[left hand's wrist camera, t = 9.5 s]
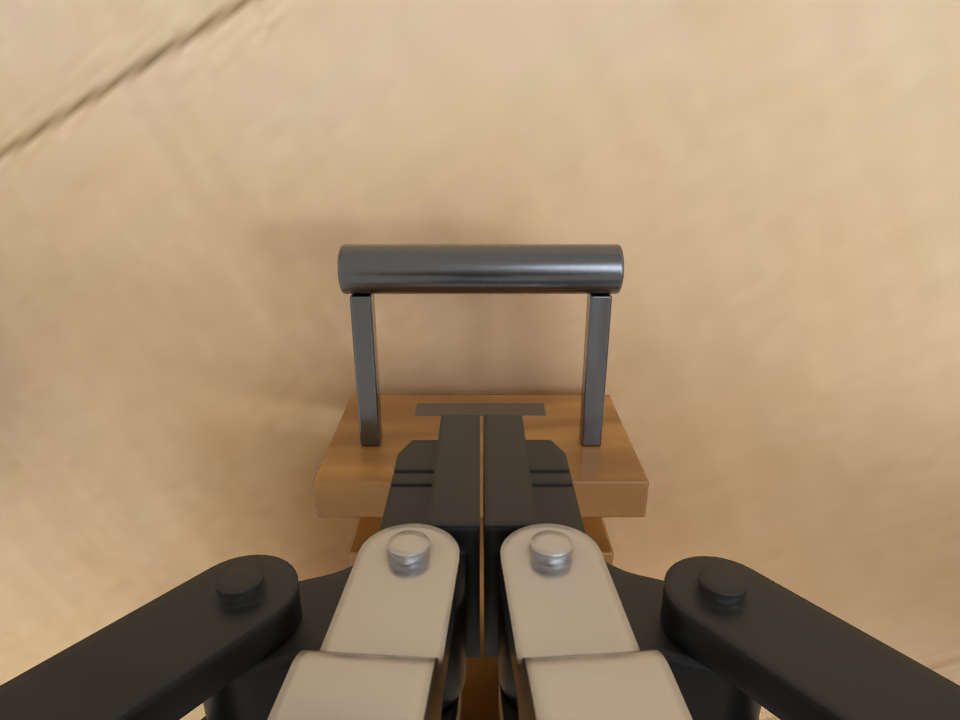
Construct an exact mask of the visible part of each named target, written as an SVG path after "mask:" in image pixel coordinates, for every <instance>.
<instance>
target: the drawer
mask: <svg viewBox="0 0 960 720" xmlns="http://www.w3.org/2000/svg"><path fill="white" fill-rule="evenodd" d="M623 277H624V257H623V251H622V248H621V246H620V245H617V244H447V245H342V246H341V248H340V251H339V255H338V279H339V284H340V288H341V290H342V292H343V293H345V294H352V295H351V296H350V306H351V320H352V333H353V347H354V360H355V374H356V388H357V395H352V396H351V399H350V401H349V403H348V405H347V408H346V410H345V412H344V414H343V416H342V419H341V421H340V423H339V425H338V428H337V430H336V432H335V434H334V437H333V439H332V441H331V443H330V445H329V448H328V450H327V452H326V454H325V457H324V459H323V461H322V463H321V466H320V468H319V470H318V472H317V474H316V477H315V479H314V481H313V487H314V496H315V506H316V515H317V517H359V518H358V522H357V525H356V529H355V532H354V535H353V539H352V542H351V545H350V549H349V552H348V559H349V567H351V566H353V565H354V563H355V560H356V558H357V555H358V552H359V550H360V548H361V546H362V545H363V544H364V543H365V541H366V540H367V539H369V538H370V537H371V536H372V535H374V534H376V533H377V532H379V531H380V527H381V522H382V518H383V514H384V510H385V506H386V502H387V497H388V493H389V489H390V487H391V481H392V476H393V473H394V468H395V464H396V460H397V456H398V453H399V452H400V451H401V450H403V449H404V448H405V447H406V446H407V445H408V444H409V443H410V442H411V441H412V440H438V436H439V428H440V421H441V414H480V657H466V679H465V684H464V687H463V689H462V691H461V699H462V702H461V715H460V720H500V715H499V702H498V699H499V668H498V657H484V549H483V414H522V417H523V424H524V432H525V439H526V440H551V441H553V442H554V443H555V444H556V445H557V446H558V447H559V448H560V449H561V450H562V451H563V452H564V453H565V454H566V457H567V461H568V465H569V469H570V473H571V477H572V481H573V487H574V489H575V493H576V497H577V501H578V505H579V509H580V513H581V517H582V521H583V525H584V529H585V533H586V535H588V536H589V537H590V538H591V539H593V540H594V541H595V543H596V544H597V545H598V546H599V548H600V550H601V552H602V555H603V558H604V560H605V561H606V562H607V563H609V564H610V565H612V566H613V555H614V553H613V550H612V546H611V543H610V540H609V537H608V533H607V530H606V527H605V523H604V520H603V517H644V516H645V512H646V503H647V494H648V484H649V482H648V479H647V477H646V475H645V473H644V471H643V468H642V466H641V464H640V462H639V460H638V457H637V455H636V453H635V451H634V449H633V446H632V444H631V442H630V440H629V438H628V435H627V433H626V431H625V429H624V427H623V425H622V422H621V420H620V418H619V416H618V414H617V411H616V409H615V407H614V405H613V403H612V400H611V398H610V396H609V395H605V383H606V370H607V357H608V343H609V330H610V316H611V303H612V296H611V295H610V294H617V293H619V292H620V290H621V287H622V283H623ZM374 294H588V296H587V313H586V329H585V346H584V362H583V379H582V395H380V388H379V371H378V354H377V338H376V321H375V304H374Z"/></svg>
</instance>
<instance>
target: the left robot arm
mask: <svg viewBox="0 0 960 720" xmlns="http://www.w3.org/2000/svg"><path fill="white" fill-rule="evenodd" d="M483 549H484V657H498V668H499V699H498V702H499V715H500V720H759V714H760V709H761V706H763V707H764V708H765V709H767V710H768V711H769V712H771V713H772V714H774V715H775V716H776V717H778V718H779V719H781V720H960V686H959V685H957V684H956V683H954V682H952V681H950V680H948V679H947V678H945V677H943V676H941V675H939V674H938V673H936V672H934V671H932V670H931V669H929V668H927V667H925V666H923V665H922V664H920V663H918V662H916V661H914V660H913V659H911V658H909V657H907V656H906V655H904V654H902V653H900V652H898V651H897V650H895V649H893V648H891V647H890V646H888V645H886V644H884V643H882V642H881V641H879V640H877V639H875V638H873V637H872V636H870V635H868V634H866V633H865V632H863V631H861V630H859V629H857V628H856V627H854V626H852V625H850V624H848V623H847V622H845V621H843V620H841V619H840V618H838V617H836V616H834V615H832V614H831V613H829V612H827V611H825V610H824V609H822V608H820V607H818V606H816V605H815V604H813V603H811V602H809V601H807V600H806V599H804V598H802V597H800V596H799V595H797V594H795V593H793V592H791V591H790V590H788V589H786V588H784V587H782V586H781V585H779V584H777V583H775V582H774V581H772V580H770V579H768V578H766V577H765V576H763V575H761V574H759V573H758V572H756V571H754V570H752V569H750V568H748V567H746V566H744V565H742V564H739V563H737V562H734V561H731V560H727V559H723V558H718V557H708V556H699V557H691V558H687V559H683V560H681V561H679V562H677V563H675V564H674V565H673V566H671V567H670V568H669V570H668V571H667V573H666V576H665V580H664V581H662V580H658V579H653V578H649V577H644V576H640V575H636V574H632V573H629V572H626V571H623V570H621V569H618V568H616V567H614V566H612V565H610V564H609V563H607V562H606V561H605V560H604V558H603V555H602V552H601V550H600V548H599V546H598V545H597V544H596V543H595V541H594V540H593V539H591V538H590V537H589V536H588V535H586V533H585V529H584V525H583V521H582V517H581V513H580V509H579V505H578V501H577V497H576V493H575V489H574V487H573V481H572V477H571V473H570V469H569V465H568V461H567V457H566V454H565V453H564V452H563V451H562V450H561V449H560V448H559V447H558V446H557V445H556V444H555V443H554V442H553V441H551V440H526V439H525V432H524V424H523V417H522V414H483ZM466 657H480V414H441V421H440V428H439V436H438V440H412V441H411V442H410V443H409V444H408V445H407V446H406V447H405V448H404V449H403V450H401V451H400V452H399V453H398V456H397V460H396V464H395V468H394V473H393V476H392V481H391V487H390V489H389V493H388V497H387V502H386V506H385V510H384V514H383V518H382V522H381V527H380V531H379V532H377V533H376V534H374V535H372V536H371V537H370V538H369V539H367V540H366V541H365V543H364V544H363V545H362V546H361V548H360V550H359V552H358V555H357V558H356V560H355V563H354V565H353V566H351V567H349V568H347V569H345V570H342V571H339V572H337V573H333V574H330V575H326V576H321V577H317V578H313V579H308V580H304V581H299V582H298V576H297V573H296V570H295V569H294V568H293V566H292V565H290V564H289V563H288V562H287V561H285V560H283V559H280V558H277V557H274V556H268V555H248V556H242V557H237V558H234V559H230V560H227V561H225V562H222V563H220V564H218V565H215V566H213V567H211V568H210V569H208V570H206V571H204V572H203V573H201V574H199V575H197V576H195V577H194V578H192V579H190V580H188V581H186V582H185V583H183V584H181V585H179V586H178V587H176V588H174V589H172V590H170V591H169V592H167V593H165V594H163V595H161V596H160V597H158V598H156V599H154V600H153V601H151V602H149V603H147V604H145V605H144V606H142V607H140V608H138V609H137V610H135V611H133V612H131V613H129V614H128V615H126V616H124V617H122V618H120V619H119V620H117V621H115V622H113V623H112V624H110V625H108V626H106V627H104V628H103V629H101V630H99V631H97V632H95V633H94V634H92V635H90V636H88V637H87V638H85V639H83V640H81V641H79V642H78V643H76V644H74V645H72V646H71V647H69V648H67V649H65V650H63V651H62V652H60V653H58V654H56V655H54V656H53V657H51V658H49V659H47V660H46V661H44V662H42V663H40V664H38V665H37V666H35V667H33V668H31V669H29V670H28V671H26V672H24V673H22V674H21V675H19V676H17V677H15V678H13V679H12V680H10V681H8V682H6V683H4V684H3V685H1V686H0V720H179V719H181V718H182V717H184V716H185V715H186V714H188V713H189V712H191V711H192V710H193V709H195V708H196V707H197V706H199V705H200V704H202V703H203V704H204V709H205V714H206V716H205V717H204V718H202V719H201V720H460V715H461V702H462V699H461V691H462V689H463V687H464V684H465V679H466Z"/></svg>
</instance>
